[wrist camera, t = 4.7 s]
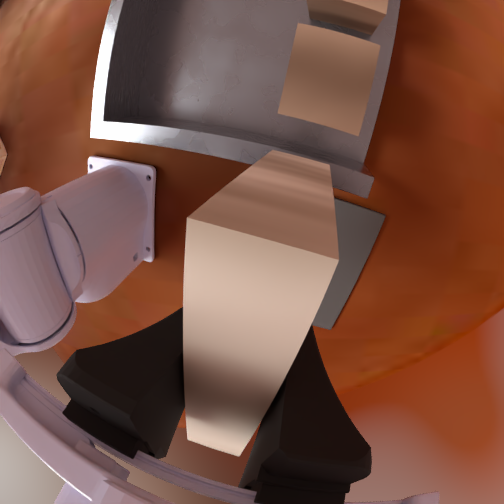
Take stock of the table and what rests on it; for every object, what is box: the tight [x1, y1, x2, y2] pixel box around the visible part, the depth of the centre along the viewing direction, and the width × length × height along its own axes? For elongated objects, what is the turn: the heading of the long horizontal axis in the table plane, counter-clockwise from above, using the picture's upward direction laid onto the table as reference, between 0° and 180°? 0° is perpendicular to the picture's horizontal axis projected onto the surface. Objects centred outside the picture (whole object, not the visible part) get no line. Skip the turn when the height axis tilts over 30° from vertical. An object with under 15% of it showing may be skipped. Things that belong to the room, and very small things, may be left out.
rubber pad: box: [312, 197, 386, 330], centre depth 22 cm, size 12×10×1 cm
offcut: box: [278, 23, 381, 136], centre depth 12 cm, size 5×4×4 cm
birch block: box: [183, 150, 339, 456], centre depth 10 cm, size 11×2×8 cm, turn 170°
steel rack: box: [91, 0, 400, 198], centre depth 11 cm, size 18×18×5 cm
